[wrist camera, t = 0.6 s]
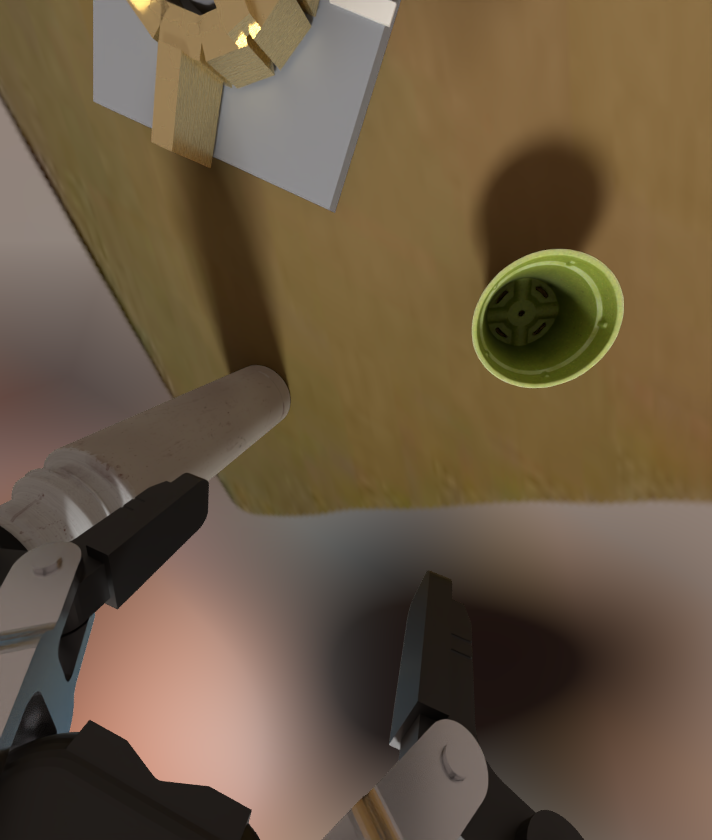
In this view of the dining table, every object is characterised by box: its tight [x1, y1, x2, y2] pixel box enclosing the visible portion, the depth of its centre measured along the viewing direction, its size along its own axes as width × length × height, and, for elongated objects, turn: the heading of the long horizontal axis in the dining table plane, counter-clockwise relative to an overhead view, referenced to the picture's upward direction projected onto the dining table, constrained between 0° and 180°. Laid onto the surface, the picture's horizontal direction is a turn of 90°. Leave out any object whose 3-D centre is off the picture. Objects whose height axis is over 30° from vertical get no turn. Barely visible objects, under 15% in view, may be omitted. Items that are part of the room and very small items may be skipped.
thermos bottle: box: [0, 365, 290, 551], centre depth 30 cm, size 8×8×28 cm
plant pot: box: [472, 249, 624, 388], centre depth 27 cm, size 9×9×9 cm
